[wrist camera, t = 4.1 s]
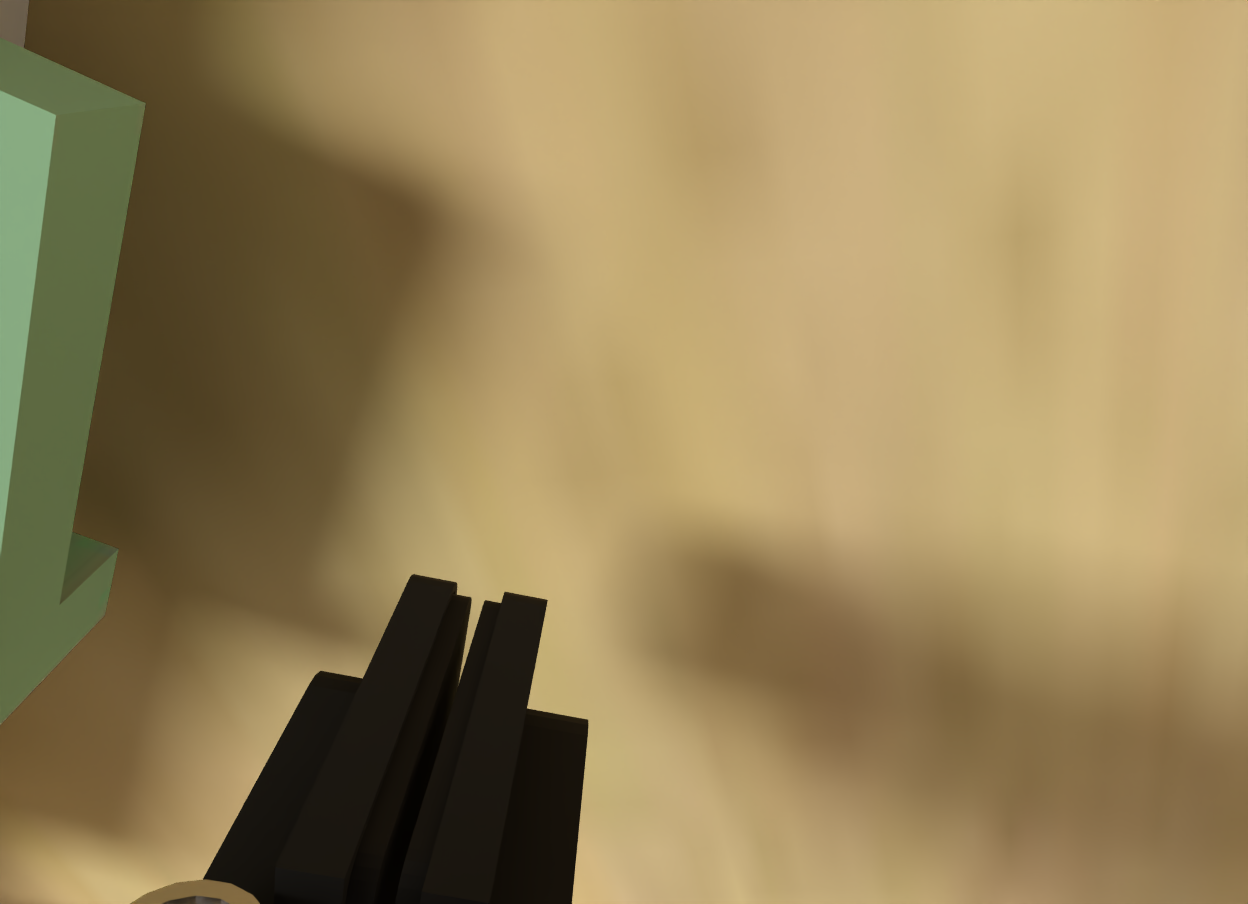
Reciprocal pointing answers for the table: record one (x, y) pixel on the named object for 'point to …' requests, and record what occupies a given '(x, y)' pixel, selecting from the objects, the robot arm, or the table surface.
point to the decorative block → (53, 342)
